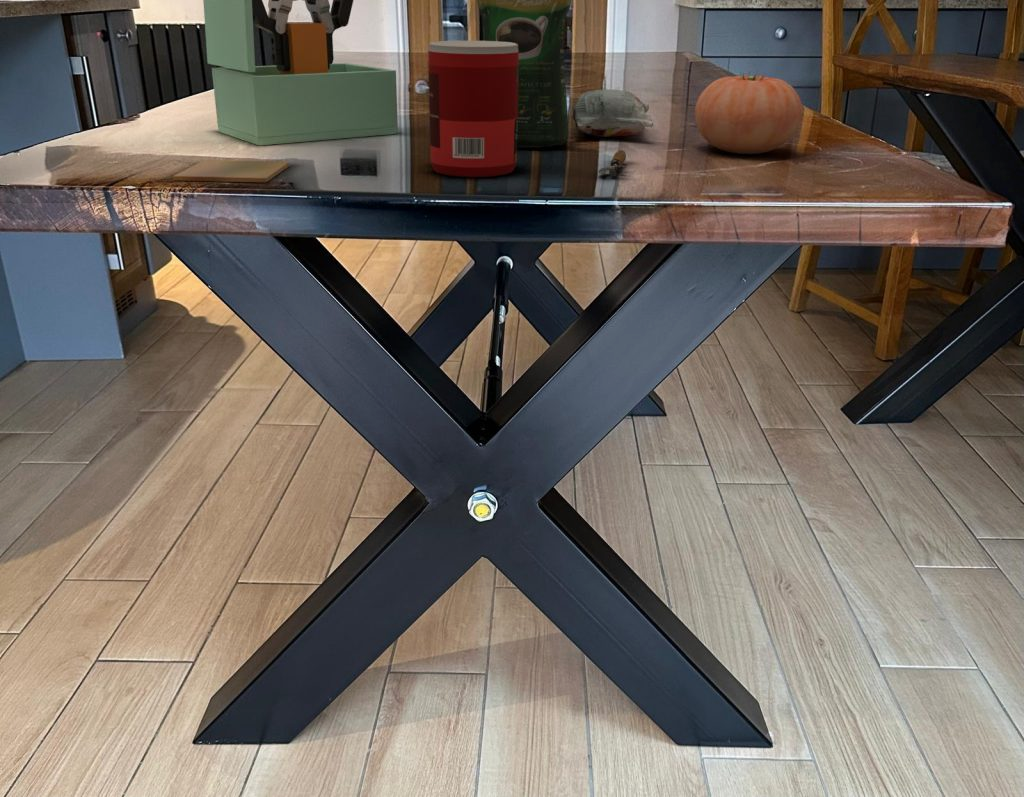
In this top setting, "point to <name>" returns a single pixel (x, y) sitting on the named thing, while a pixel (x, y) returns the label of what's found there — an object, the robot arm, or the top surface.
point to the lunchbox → (305, 103)
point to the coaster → (232, 171)
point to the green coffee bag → (534, 64)
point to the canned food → (473, 107)
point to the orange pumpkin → (748, 113)
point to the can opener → (615, 163)
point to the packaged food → (611, 113)
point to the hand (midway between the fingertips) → (303, 69)
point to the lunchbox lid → (230, 34)
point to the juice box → (307, 48)
